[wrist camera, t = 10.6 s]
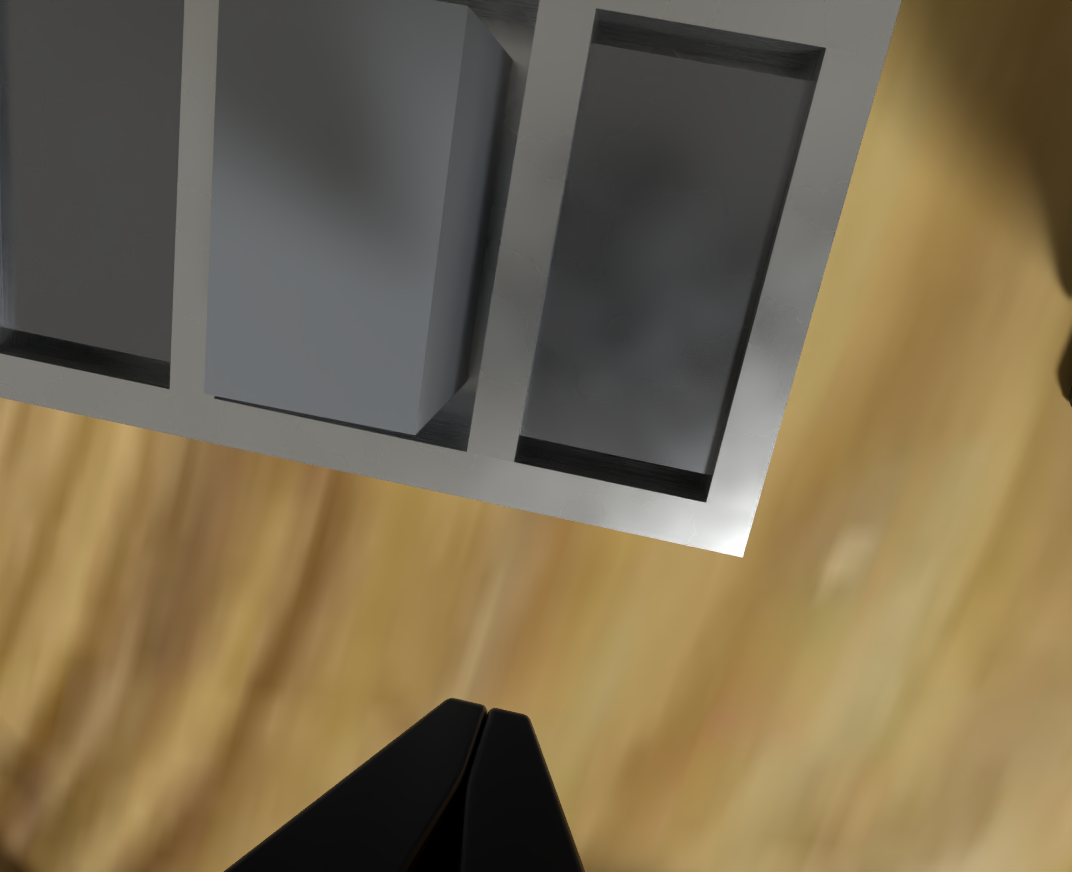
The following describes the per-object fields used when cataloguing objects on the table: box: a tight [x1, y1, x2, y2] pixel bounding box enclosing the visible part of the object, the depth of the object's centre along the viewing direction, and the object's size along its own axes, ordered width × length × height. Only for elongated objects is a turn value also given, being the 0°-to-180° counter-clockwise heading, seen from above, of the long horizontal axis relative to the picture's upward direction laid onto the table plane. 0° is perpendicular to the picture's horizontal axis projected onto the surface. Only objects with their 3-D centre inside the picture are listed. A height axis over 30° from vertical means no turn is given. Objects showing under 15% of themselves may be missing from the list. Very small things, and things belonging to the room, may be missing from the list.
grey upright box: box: [204, 0, 512, 435], centre depth 15 cm, size 4×7×4 cm, turn 170°
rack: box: [0, 0, 902, 557], centre depth 17 cm, size 18×11×4 cm, turn 79°
